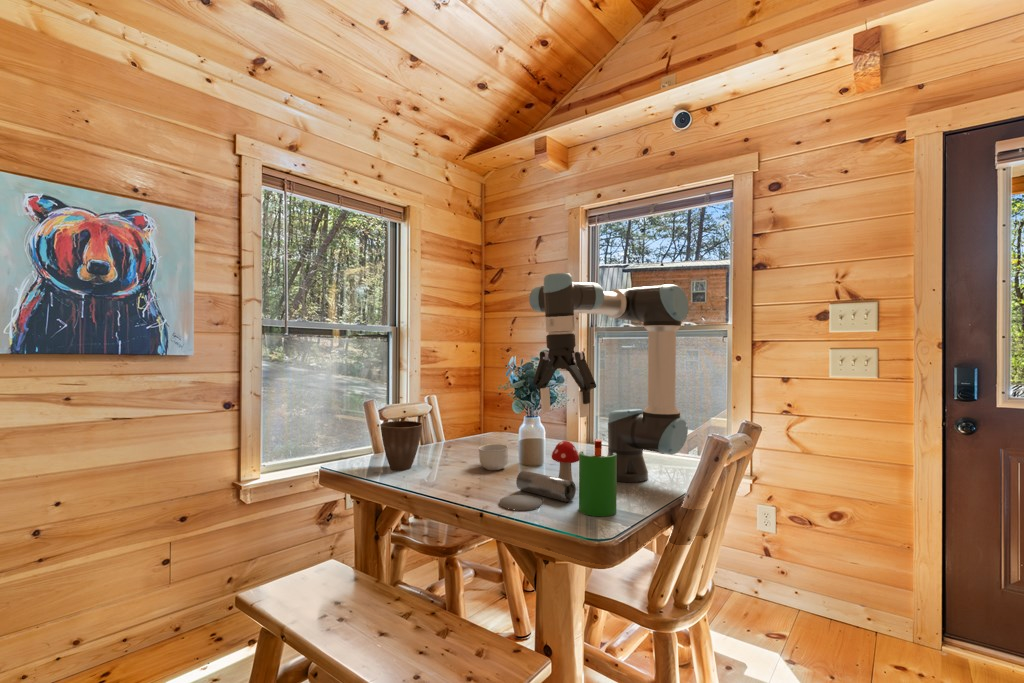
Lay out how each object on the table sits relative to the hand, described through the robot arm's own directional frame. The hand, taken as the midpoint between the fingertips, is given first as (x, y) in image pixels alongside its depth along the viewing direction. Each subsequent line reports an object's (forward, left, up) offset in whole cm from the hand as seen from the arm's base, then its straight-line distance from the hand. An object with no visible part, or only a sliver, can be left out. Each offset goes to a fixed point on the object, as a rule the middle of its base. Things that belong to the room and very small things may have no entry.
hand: (564, 414), depth 136 cm
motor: (-11, +3, -28) cm, 30 cm away
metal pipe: (-12, -16, -27) cm, 34 cm away
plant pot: (-2, -75, -27) cm, 80 cm away
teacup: (-26, -52, -28) cm, 64 cm away
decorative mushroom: (-22, -16, -27) cm, 39 cm away
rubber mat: (-1, -16, -27) cm, 32 cm away
